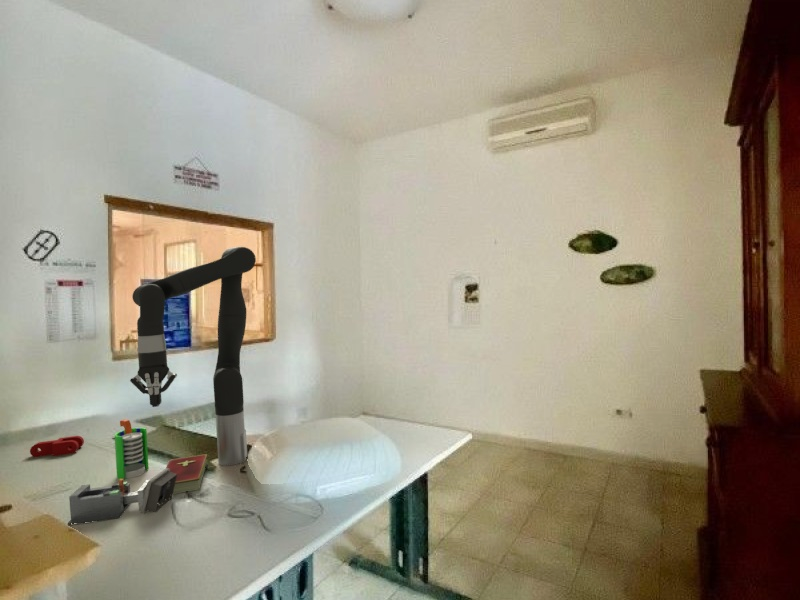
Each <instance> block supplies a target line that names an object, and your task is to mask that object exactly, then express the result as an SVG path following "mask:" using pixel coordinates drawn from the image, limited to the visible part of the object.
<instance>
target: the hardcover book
mask: <svg viewBox="0 0 800 600" xmlns="http://www.w3.org/2000/svg"><path fill="white" fill-rule="evenodd" d="M207 458H208V453H206V454H205V453H204V454H199V455H191V456H186V457H179V458H172V459H170V460H169V462H168V464H167V465H166V467H165V469H166V468H169V469H170V471H169V472H172V473H175V474H177V477H176V482H175V486H174V491H173V495H175V494H176V495H177V494H181V493H186V491H188V492H192V491H198V490H199V491H200V487H201V484H202V481H203V478H202V477H204V474H205V471H206V468H205V463H206V462H207ZM170 483H171V482H170ZM169 486H170V484H169Z"/></svg>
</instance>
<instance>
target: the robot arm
mask: <svg viewBox="0 0 800 600" xmlns="http://www.w3.org/2000/svg"><path fill="white" fill-rule="evenodd" d="M256 258H257V257H256V255H255V253H254V251H252V249H250V248H248V247H246V246H233V247H228V248H226V249H225V250H224V251H223V252H222V254H221V257H220V258H219V259H217V260H213V261H210V262H208V263H203V264H201V265H196V266H193V267H190V268H186V269H183V270H181V271H178V272H176V273H172V274H170V275H168V276H166V277H164V278H161V279H157V280H154V281H151V282H148V283H144V284H142V285H140V286H138V287H137V288H135V289H134V291H133V293H132V295H131V296H132V301H133V303H134V304H136V306H138V307H139V317H138V318H137V324H136V327H137V328H136V329H137V342H136V343H137V347H136V348H137V350H136V351H137V355H138V356H137V357H138V360H137V361H138V370H137V374H136V375H134V377H132V378H130V380H129V381H130V383H132V385H133V386H134V387H136V389H138V391H140V392H141V393H142V394H144V395H145V394H147V395H148V396H149V405H150V406H152V407H153V408H155V407H159V406H160V405H161V404H162V393H165V391H167V390H168V389H169V388H170V386H171V385H172V384H173V381H175V379H176V378H177V377H178V374H177V373H176V372H175V373H173V372H171V371H170V368H169V366H168V355H167V343H166V338H165V325H164V316H165V310H166V309H165V308H166V300H169V299H171V298H176V297H180V296H182V295H185V294H188V293H191V292H192V291H195V290H197V289H199V288H202V287H204V286H207V285H208V284H210V283H213V282H216V281H218V280H220V281H221V283H220V285H221V287H220V295H219V296H220V297H219V309H218V317H217V346H218V349H217V350H218V351H217V360H216V365H215V370H214V373H213V378H212V380H213V381H212V382H213V394H214V395H213V397H214V411H215V413H214V414H215V430H216V447H217V460H218V464H219V465H220V466H234V465H237V464H241V463H245V462H246V460H247V458H248V444H247V431H246V429H245V428H246V427H245V426H246V425H245V413H244V412H245V411H244V401H245V400H244V386H243V385H244V384H243V376H242V374H241V366H240V365H241V361H240V359H241V349H242V345H243V341H244V337H245V333H246V332H245V331H246V328H247V327H246V324H247V306H246V305H247V304H246V301H245V299H244V295H243V294H244V293H243V289H242V284H243V283H242V282H243V274H245V273H248V272H251V270H252V269H253V268H254V267H255V265H256V260H257V259H256ZM165 378H166V379H167V380H166V382H165V383H164V384H163V381H164V380H165ZM144 383H145V384H144ZM162 385H163V386H162ZM246 457H247V458H246Z"/></svg>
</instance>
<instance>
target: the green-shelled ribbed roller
mask: <svg viewBox="0 0 800 600" xmlns="http://www.w3.org/2000/svg"><path fill="white" fill-rule="evenodd" d="M119 426H120V427H123V428H124V429H122V430H119V431H118V432H116V433H115V434H114V449H115V466H116V467H115V469H116V478H117V479H118V480H120V479H123V481H124V480H125V479H130V478H135V477H138V476H141V475H143V474H145V472H146V471H147V470H149V453H148V451H149V450H148V431H147V428H145V427H132V424H131V421H130V419H126V418H125V419H121V420H119Z"/></svg>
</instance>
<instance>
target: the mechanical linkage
mask: <svg viewBox="0 0 800 600" xmlns="http://www.w3.org/2000/svg"><path fill="white" fill-rule="evenodd" d="M84 443H85V441H84V438H83V437H82V436H81V435H74V436H65V437H59V438H57V439H54V440H53V439H52V440H47V441H38V442H36V443H35V444H34V445H33V446H31V447H30V449H29V454H30V455H31V456H32V457H35V458H38V457H45V456H52V457H57V456H65V455H66V456H67V455H72V454H74V453H75V452H76V451H78V450H79V449H81V447H82V446H83V445H84Z"/></svg>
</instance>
